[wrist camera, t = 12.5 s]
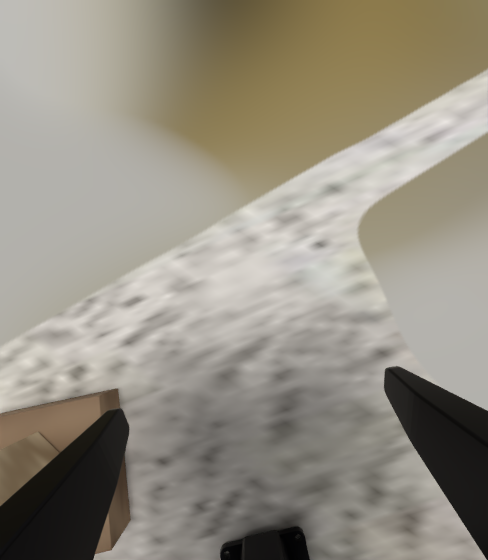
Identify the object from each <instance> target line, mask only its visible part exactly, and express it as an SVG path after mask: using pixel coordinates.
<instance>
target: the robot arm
mask: <svg viewBox="0 0 488 560" xmlns="http://www.w3.org/2000/svg"><path fill="white" fill-rule="evenodd" d="M384 390H385V393H386V395H387V397H388V399H389V401H390V403H391V405H392V407H393V409H394V411H395V413H396V415H397V417H398V419H399V421H400V422H401V424H402V426H403V428H404V430H405V432H406V434H407V436H408V438H409V439H410V441H411V443H412V444H413V446H414V448H415V449H416V451H417V452H418V454H419V455H420V457H421V458H422V460H423V462H424V463H425V465H426V466H427V468H428V469H429V471H430V472H431V474H432V475H433V477H434V479H435V480H436V482H437V483H438V485H439V486H440V488H441V489H442V491H443V492H444V494H445V496H446V497H447V499H448V500H449V502H450V503H451V505H452V506H453V508H454V510H455V511H456V513H457V514H458V516H459V517H460V519H461V520H462V522H463V523H464V525H465V527H466V528H467V530H468V531H469V533H470V534H471V536H472V537H473V539H474V541H475V542H476V544H477V545H478V547H479V548H480V550H481V551H482V553H483V554H484V556H485V558H486V559H487V560H488V411H487V410H485V409H483V408H481V407H479V406H476V405H475V404H473V403H471V402H469V401H467V400H465V399H462V398H461V397H459V396H457V395H455V394H453V393H450V392H448V391H447V390H445V389H443V388H441V387H439V386H437V385H435V384H433V383H431V382H429V381H427V380H425V379H423V378H421V377H419V376H417V375H415V374H413V373H411V372H409V371H407V370H405V369H403V368H401V367H398V366H395V367H389V368H386V369H385V377H384ZM128 436H129V424H128V422H127V419H126V417H125V414H124V412H123V410H122V409H121V408H116V409H110V410H108V411H106V412H105V413H104V414H103V415H102V416H101V417H100V418H98V419H97V420H96V421H95V422H94V423H93V424H92V425H91V426H89V427H88V428H87V429H86V430H85V431H84V432H83V433H82V434H80V435H79V436H78V437H77V438H76V439H75V440H74V441H73V442H72V443H70V444H69V445H68V446H67V447H66V448H65V449H64V450H63V451H61V452H60V453H59V454H58V455H57V456H56V457H55V458H54V459H52V460H51V461H50V462H49V463H48V464H47V465H46V466H45V467H43V468H42V469H41V470H40V471H39V472H38V473H37V474H36V475H34V476H33V477H32V478H31V479H30V480H29V481H28V482H27V483H25V484H24V485H23V486H22V487H21V488H20V489H19V490H18V491H16V492H15V493H14V494H13V495H12V496H11V497H10V498H9V499H7V500H6V501H5V502H4V503H3V504H2V505H1V506H0V560H93V558H94V555H95V552H96V549H97V546H98V543H99V540H100V537H101V534H102V530H103V527H104V524H105V521H106V518H107V515H108V512H109V509H110V506H111V503H112V499H113V496H114V493H115V490H116V487H117V483H118V480H119V476H120V471H121V467H122V462H123V458H124V453H125V449H126V445H127V440H128ZM297 534H299V535H301V536H300V538H295V536H296V535H297ZM226 551H228V552H230V554H229V555H226V554H225V553H224V552H226ZM220 558H221V560H310V559H309V555H308V550H307V545H306V540H305V536H304V533H303V530H302V529H301V528H299V527H294V528H289V529H285V530H281V531H276V530H273V531H269V532H265V533H261V534H256V535H252V536H248V537H245V538H244V539H243V540H238V541H234V542H230V543H226V544H224V545H223V546H222V548H221V552H220Z"/></svg>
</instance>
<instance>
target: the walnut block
mask: <svg viewBox="0 0 488 560" xmlns="http://www.w3.org/2000/svg"><path fill="white" fill-rule="evenodd" d="M116 408H120V404H119V393H118V388H117V389H112V390H108V391H103V392H98V393H94V394H89V395H84V396H80V397H75V398H70V399H66V400H61V401H56V402H52V403H47V404H42V405H37V406H33V407H28V408H23V409H19V410H14V411H9V412H5V413H1V414H0V449H3V448H5V447H7V446H9V445H11V444H13V443H15V442H17V441H19V440H22V439H24V438H26V437H28V436H30V435H32V434H34V433H36V432H39V433H40V434H41V435H42V436H43V437H44V438H45V439H46V440H47V441H48V442H49V443H50V444H51V445H52V446H53V447H54V448H55V449H56V450H57V451H58V452H59V453H60V452H61V451H63V450H64V449H65V448H66V447H67V446H68V445H69V444H70V443H72V442H73V441H74V440H75V439H76V438H77V437H78V436H79V435H80V434H82V433H83V432H84V431H85V430H86V429H87V428H88V427H89V426H91V425H92V424H93V423H94V422H95V421H96V420H97V419H98V418H100V417H101V416H102V415H103V414H104V413H105V412H106V411H108V410H110V409H116ZM129 522H130V510H129V500H128V489H127V478H126V468H125V457H124V458H123V462H122V467H121V471H120V476H119V480H118V483H117V487H116V490H115V493H114V496H113V499H112V503H111V506H110V509H109V512H108V515H107V518H106V521H105V524H104V527H103V530H102V534H101V537H100V540H99V543H98V546H97V549H96V552H95V554H97V553H101V552H106V551H110V550H112V548H113V547H114V545H115V544H116V542H117V541H118V539H119V538H120V536H121V534H122V533H123V531H124V530H125V528H126V527H127V525H128V523H129Z"/></svg>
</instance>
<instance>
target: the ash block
mask: <svg viewBox="0 0 488 560" xmlns="http://www.w3.org/2000/svg"><path fill="white" fill-rule="evenodd" d="M58 454H59V452H58V451H57V450H56V449H55V448H54V447H53V446H52V445H51V444H50V443H49V442H48V441H47V440H46V439H45V438H44V437H43V436H42V435H41V434H40V433H39V432H36V433H34V434H32V435H30V436H28V437H26V438H24V439H22V440H19V441H17V442H15V443H13V444H11V445H9V446H7V447H5V448H3V449H0V506H1V505H2V504H3V503H4V502H5V501H6V500H7V499H9V498H10V497H11V496H12V495H13V494H14V493H15V492H16V491H18V490H19V489H20V488H21V487H22V486H23V485H24V484H25V483H27V482H28V481H29V480H30V479H31V478H32V477H33V476H34V475H36V474H37V473H38V472H39V471H40V470H41V469H42V468H43V467H45V466H46V465H47V464H48V463H49V462H50V461H51V460H52V459H54V458H55V457H56V456H57V455H58Z"/></svg>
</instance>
